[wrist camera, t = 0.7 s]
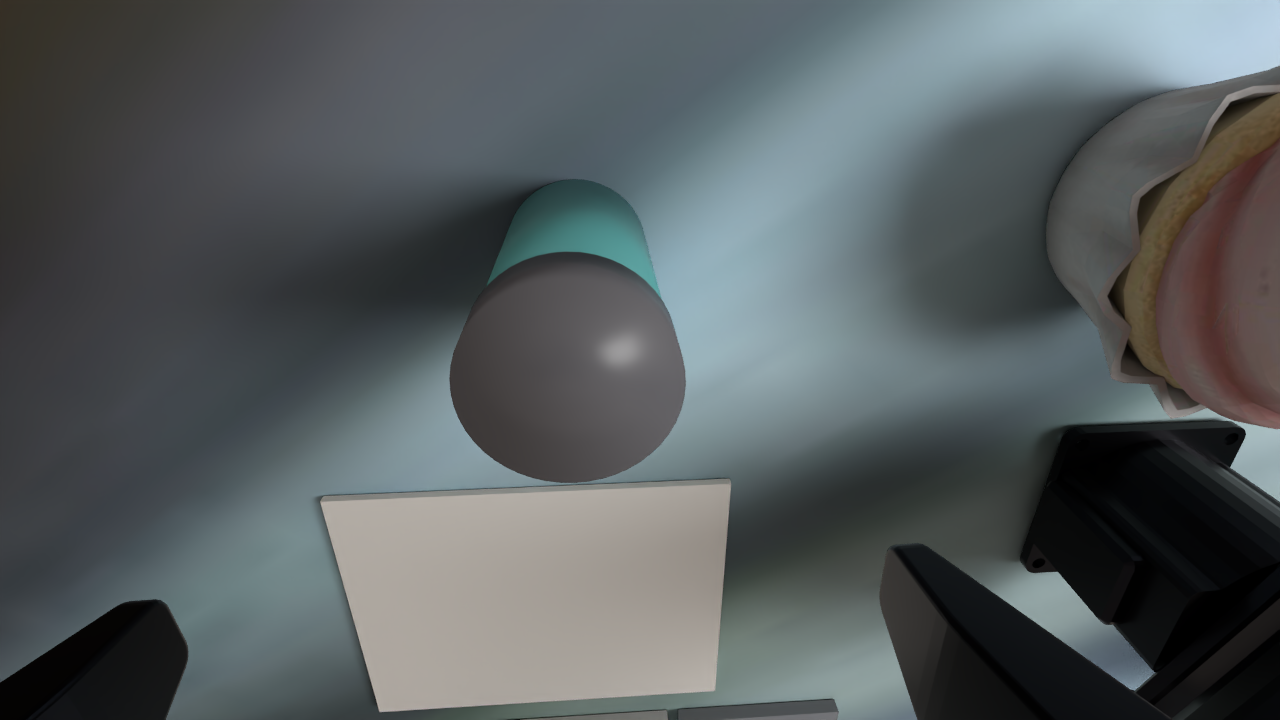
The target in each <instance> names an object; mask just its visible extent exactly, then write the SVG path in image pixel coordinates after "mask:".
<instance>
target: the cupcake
mask: <svg viewBox="0 0 1280 720" xmlns="http://www.w3.org/2000/svg"><path fill="white" fill-rule="evenodd" d="M1046 245H1047V254H1048V259H1049V261H1050V263H1051V266H1052V268H1053V270H1054V272H1055V274H1056V276H1057V278H1058V279H1059V281H1060V282H1061V283H1062V284H1063V286H1064V287H1065V288H1066V289H1067V290H1068V291H1069V292H1070V294H1071V295H1072V296H1073V297H1074V298H1075V299H1076V300H1077V301H1078V303H1079V304H1080V305H1081V307H1082V308H1083V309H1084V311H1085V312H1086V313H1087V315H1088V316H1089V317H1090V319H1091V320H1092V321H1093V323H1094V324H1095V326H1096V327H1097V328H1098V331H1099V335H1100V338H1101V342H1102V346H1103V349H1104V353H1105V357H1106V360H1107V364H1108V368H1109V371H1110V375H1111V378H1112V379H1114V380H1117V381H1120V382H1122V383H1140V384H1149V385H1150V387H1151V388H1152V390H1153V392H1154V394H1155V395H1156V397H1157V399H1158V400H1159V402H1160V404H1161V406H1162V407H1163V409H1164V411H1165V412H1166V413H1167V414H1168V415H1169V417H1170V418H1171V419H1172V418H1178V417H1184V416H1187V415H1190V414H1192V413H1195V412H1198V411H1200V410H1203V409H1205V408H1209V409H1210V410H1212V411H1214V412H1216V413H1217V414H1219V415H1221V416H1224V417H1226V418H1229V419H1231V420H1234V421H1238V422H1243V423H1248V424H1253V425H1258V426H1263V427H1268V428H1273V429H1280V66H1278V67H1275V68H1272V69H1270V70H1267V71H1263V72H1258V73H1254V74H1250V75H1246V76H1242V77H1237V78H1233V79H1229V80H1225V81H1220V82H1216V83H1212V84H1206V85H1200V86H1194V87H1189V88H1183V89H1178V90H1173V91H1169V92H1166V93H1163V94H1160V95H1157V96H1155V97H1152V98H1149V99H1147V100H1144V101H1142V102H1139V103H1138V104H1136V105H1134V106H1132V107H1131V108H1129V109H1128V110H1126V111H1125V112H1123V113H1122V114H1120V115H1119V116H1117V117H1116V118H1114V119H1113V120H1111V121H1110V122H1109V123H1107V124H1106V125H1105V126H1103V127H1102V128H1101V129H1100V130H1099V131H1098V132H1097V133H1096V134H1094V135H1093V136H1092V137H1091V138H1090V139H1089V140H1088V141H1087V142H1086V143H1085V144H1084V145H1083V146H1082V147H1081V148H1080V149H1079V151H1078V152H1077V154H1076V155H1075V156H1074V158H1073V159H1072V161H1071V162H1070V164H1069V165H1068V167H1067V168H1066V170H1065V172H1064V173H1063V175H1062V177H1061V179H1060V181H1059V183H1058V185H1057V187H1056V189H1055V191H1054V194H1053V196H1052V198H1051V200H1050V204H1049V209H1048V215H1047V222H1046Z"/></svg>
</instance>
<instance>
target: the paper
mask: <svg viewBox="0 0 1280 720" xmlns="http://www.w3.org/2000/svg"><path fill="white" fill-rule="evenodd" d="M730 491H731V482H730V479H707V480H684V481H661V482H638V483H615V484H592V485H569V486H546V487H522V488H499V489H476V490H453V491H430V492H407V493H384V494H361V495H337V496H323V498H322V500H321V501H320V503H321V506H322V510H323V513H324V517H325V520H326V524H327V528H328V531H329V535H330V538H331V542H332V545H333V549H334V552H335V556H336V559H337V563H338V566H339V570H340V574H341V577H342V581H343V584H344V588H345V591H346V595H347V598H348V602H349V605H350V609H351V612H352V616H353V620H354V623H355V627H356V630H357V634H358V637H359V641H360V644H361V648H362V651H363V655H364V658H365V662H366V666H367V669H368V673H369V676H370V680H371V683H372V687H373V690H374V694H375V697H376V701H377V704H378V708H379V712H389V711H405V710H421V709H437V708H452V707H468V706H484V705H500V704H516V703H532V702H548V701H564V700H579V699H595V698H611V697H627V696H643V695H659V694H675V693H690V692H706V691H715V683H716V670H717V657H718V644H719V631H720V619H721V606H722V593H723V580H724V567H725V555H726V542H727V529H728V516H729V503H730Z"/></svg>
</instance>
